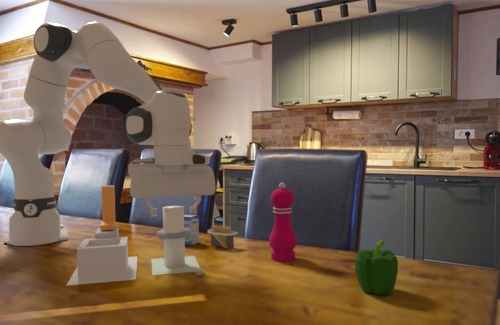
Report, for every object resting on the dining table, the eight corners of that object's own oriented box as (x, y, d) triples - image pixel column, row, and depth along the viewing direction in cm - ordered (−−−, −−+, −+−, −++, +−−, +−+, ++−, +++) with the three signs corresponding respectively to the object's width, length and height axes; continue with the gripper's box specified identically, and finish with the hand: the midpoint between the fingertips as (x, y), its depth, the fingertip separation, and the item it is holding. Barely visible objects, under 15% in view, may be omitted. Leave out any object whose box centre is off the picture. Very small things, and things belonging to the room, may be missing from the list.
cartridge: (157, 261, 103) (155, 205, 103) (189, 259, 105) (188, 204, 105) (158, 270, 95) (156, 210, 95) (193, 267, 97) (191, 208, 97)
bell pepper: (374, 301, 77) (374, 248, 77) (347, 288, 85) (347, 239, 84) (409, 294, 80) (409, 243, 80) (380, 282, 88) (379, 235, 88)
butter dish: (236, 256, 112) (235, 232, 112) (183, 249, 121) (183, 227, 121) (257, 247, 123) (256, 225, 122) (207, 241, 132) (207, 221, 131)
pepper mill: (300, 256, 110) (299, 181, 109) (291, 263, 103) (290, 183, 103) (275, 253, 113) (274, 181, 112) (265, 260, 106) (264, 183, 106)
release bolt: (103, 224, 109) (102, 185, 108) (115, 223, 110) (114, 185, 109) (100, 230, 101) (99, 188, 101) (113, 229, 102) (112, 188, 101)
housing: (80, 264, 105) (79, 228, 105) (137, 260, 109) (136, 225, 108) (66, 290, 86) (64, 246, 86) (135, 283, 89) (134, 241, 89)
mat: (151, 262, 106) (151, 259, 106) (194, 259, 108) (194, 255, 108) (152, 279, 92) (152, 275, 92) (201, 275, 95) (201, 270, 95)
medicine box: (169, 243, 127) (169, 215, 127) (177, 240, 132) (177, 213, 131) (191, 245, 124) (191, 217, 124) (199, 242, 128) (198, 214, 128)
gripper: (127, 159, 94) (128, 219, 94) (216, 157, 99) (217, 214, 99) (128, 158, 100) (129, 215, 100) (212, 157, 105) (213, 211, 105)
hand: (173, 215), depth 100 cm, fingers open, 8 cm apart
